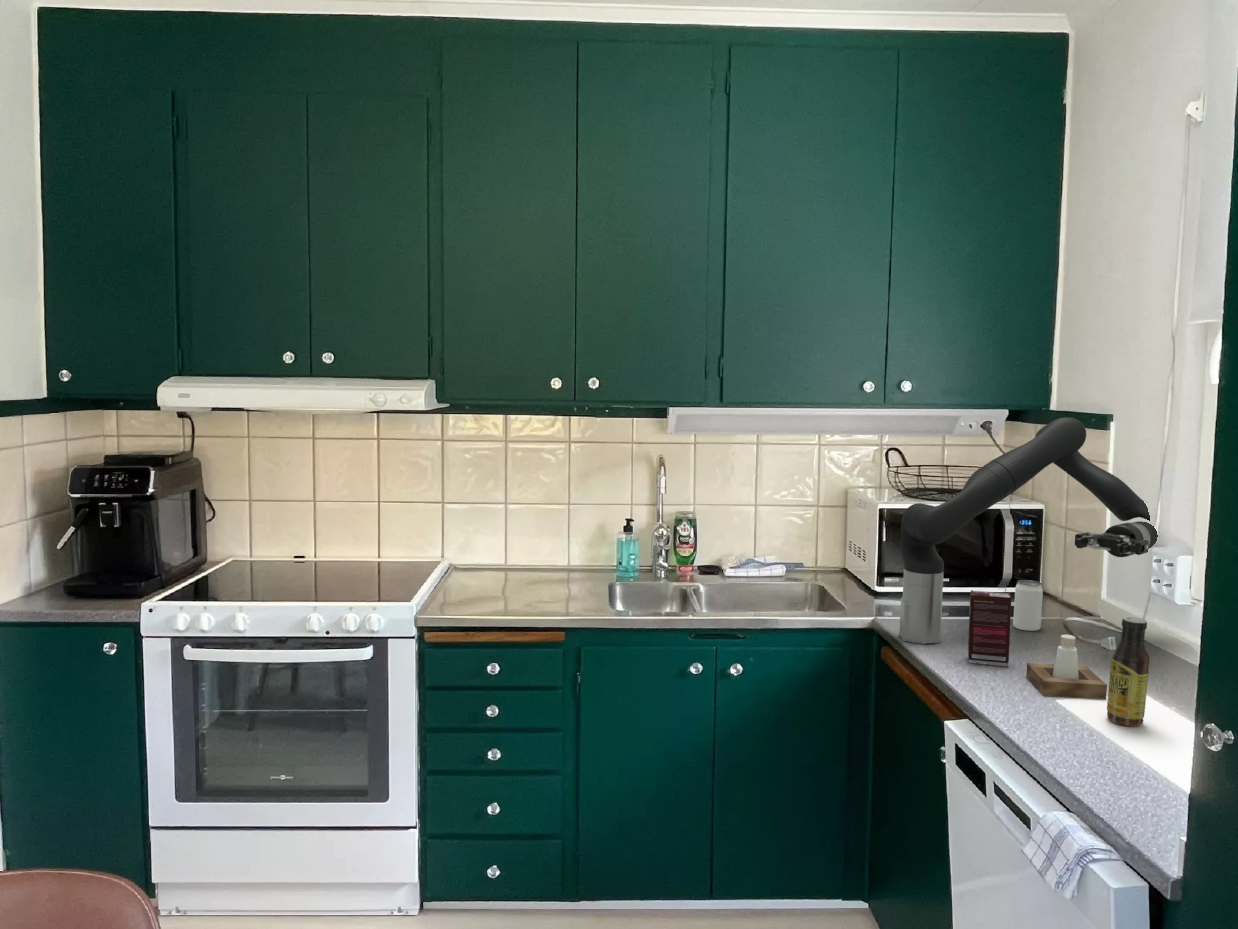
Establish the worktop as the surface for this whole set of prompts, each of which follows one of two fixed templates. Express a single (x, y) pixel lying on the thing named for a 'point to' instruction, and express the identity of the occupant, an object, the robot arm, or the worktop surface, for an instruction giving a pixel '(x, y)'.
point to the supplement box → (989, 628)
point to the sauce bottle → (1129, 675)
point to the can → (1028, 605)
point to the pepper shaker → (1066, 659)
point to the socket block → (1066, 682)
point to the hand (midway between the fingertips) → (1098, 546)
